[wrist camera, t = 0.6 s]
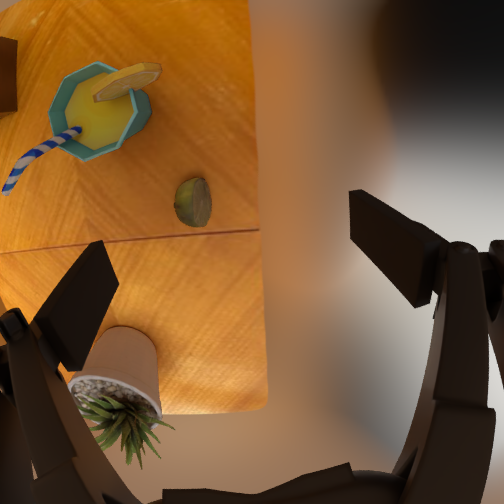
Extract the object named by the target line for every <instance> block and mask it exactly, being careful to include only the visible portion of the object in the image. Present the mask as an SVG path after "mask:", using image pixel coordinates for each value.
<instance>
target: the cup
mask: <svg viewBox="0 0 504 504" xmlns="http://www.w3.org/2000/svg"><path fill="white" fill-rule="evenodd" d="M162 71H163V70H162V67H161V64H158V63H144V62H142V63H139V64H136V65H133V66H130V67H127V68H124V69H121V70H117V69H115V68H113V67H111V66H108V65H106V64H104V63H101V62H99V61H97V62H94V63H92V64H90V65H88V66H86V67H84V68H81V69H79V70H77V71H75V72H73V73H71V74H69V75H67V76H66V77H64V79H63V81H62V83H61V85H60V87H59V89H58V91H57V93H56V95H55V97H54V99H53V101H52V104H51V106H50V108H49V111H48V116H49V120H50V124H51V128H52V132H53V136H54V137H53V138H51V139H49V140H47V141H45V142H43V143H41V144H40V145H38V146H36V147H34V148H32V149H31V150H29V151H28V152H27V153H26V154H24V155H23V156H22V157H21V158H20V159H18V161H17V162H16V164H15V166H14V168H13V169H12V171H11V173H10V175H9V177H8V179H7V181H6V183H5V185H4V187H3V189H2V194H3V195H5V196H9V194H10V193H11V191H12V189H13V187H14V186H15V184H16V182H17V181H18V179H19V177H20V176H21V174H22V172H23V171H24V169H25V168H26V167H27V166H28V165H29V164H30V163H31V162H32V161H33V160H34V159H36V158H37V157H39V156H41V155H42V154H44V153H46V152H47V151H49V150H51V149H53V148H54V147H58V148H60V149H62V150H64V151H66V152H67V153H69V154H71V155H73V156H75V157H77V158H79V159H80V160H82V161H84V162H86V161H88V160H90V159H93V158H95V157H98V156H100V155H103V154H105V153H108V152H111V151H113V150H116V149H119V148H120V147H121V146H122V144H123V142H124V140H126V139H127V138H129V137H131V136H132V135H134V134H136V133H137V132H139V131H141V130H142V129H143V128H144V126H145V124H146V122H147V121H148V119H149V117H150V115H151V114H152V110H151V106H150V102H149V98H148V95H147V94H146V93H145V92H143V91H142V90H141V88H143V87H145V86H147V85H148V84H150V83H152V82H154V81H156V80H158V78H159V76H160V74H161V73H162Z"/></svg>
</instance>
